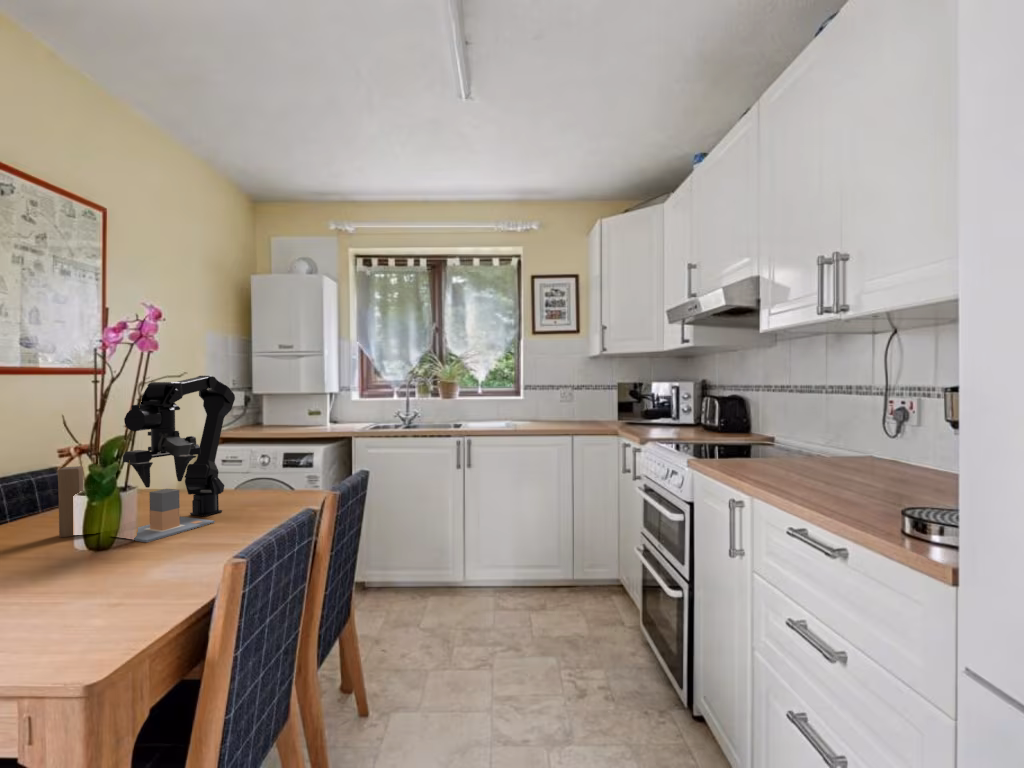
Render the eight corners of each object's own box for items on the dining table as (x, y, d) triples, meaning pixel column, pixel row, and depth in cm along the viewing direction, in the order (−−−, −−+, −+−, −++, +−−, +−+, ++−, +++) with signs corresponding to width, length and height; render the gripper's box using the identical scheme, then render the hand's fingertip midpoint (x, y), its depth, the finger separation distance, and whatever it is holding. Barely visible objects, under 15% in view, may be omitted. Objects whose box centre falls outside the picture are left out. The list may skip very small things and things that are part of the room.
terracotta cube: (167, 524, 158) (166, 506, 158) (179, 525, 156) (179, 507, 156) (149, 528, 154) (149, 510, 153) (162, 530, 152) (162, 511, 152)
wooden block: (104, 529, 155) (103, 464, 155) (100, 533, 151) (99, 467, 151) (64, 533, 151) (62, 467, 151) (58, 538, 147) (57, 469, 147)
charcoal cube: (167, 506, 158) (166, 488, 158) (179, 507, 156) (179, 489, 156) (149, 510, 153) (149, 492, 153) (162, 511, 152) (162, 493, 151)
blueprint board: (180, 518, 167) (180, 516, 167) (214, 522, 161) (214, 520, 161) (110, 536, 148) (110, 534, 148) (146, 542, 143) (146, 539, 143)
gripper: (149, 431, 143) (151, 493, 143) (213, 425, 160) (214, 480, 160) (121, 430, 147) (122, 490, 147) (186, 424, 164) (187, 477, 164)
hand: (164, 484), depth 155 cm, fingers open, 9 cm apart
